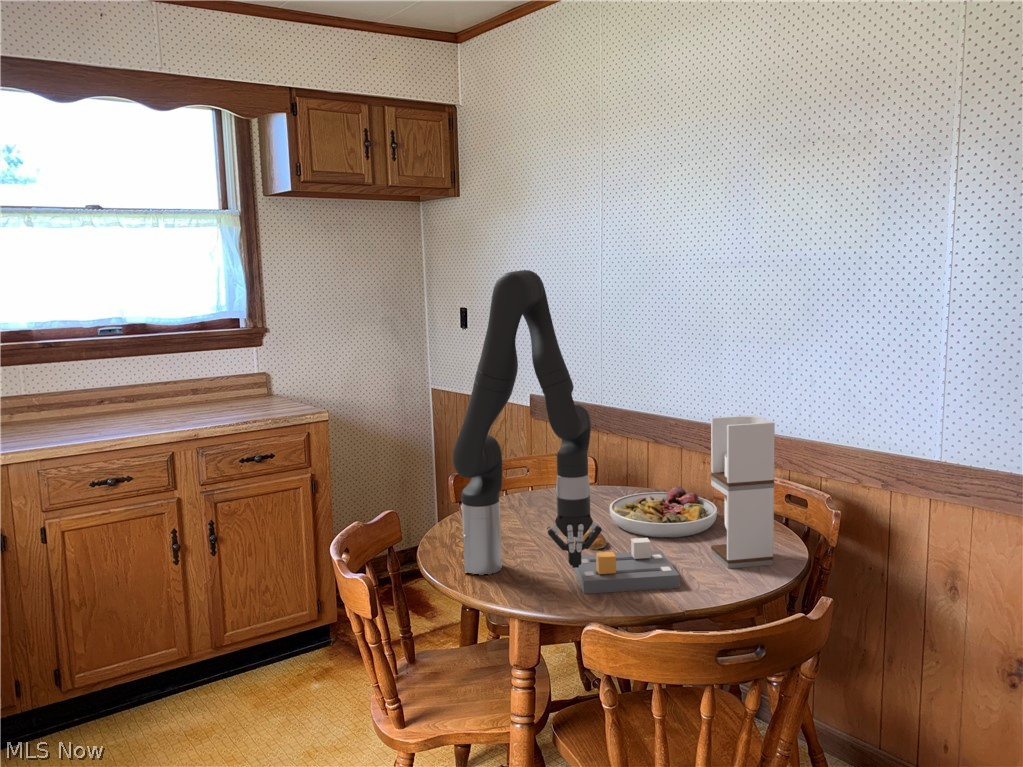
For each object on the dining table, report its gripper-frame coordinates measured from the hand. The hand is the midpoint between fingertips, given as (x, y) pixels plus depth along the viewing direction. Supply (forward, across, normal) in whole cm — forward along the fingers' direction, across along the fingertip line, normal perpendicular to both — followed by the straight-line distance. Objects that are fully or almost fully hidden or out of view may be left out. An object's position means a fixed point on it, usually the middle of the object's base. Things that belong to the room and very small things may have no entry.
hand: (575, 566), depth 181 cm
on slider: (+2, +17, +8) cm, 19 cm away
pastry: (+6, +9, +28) cm, 30 cm away
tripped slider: (+2, +7, 0) cm, 7 cm away
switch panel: (+5, +12, +4) cm, 14 cm away
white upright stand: (+5, +43, +11) cm, 45 cm away
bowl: (+6, +32, +42) cm, 53 cm away
